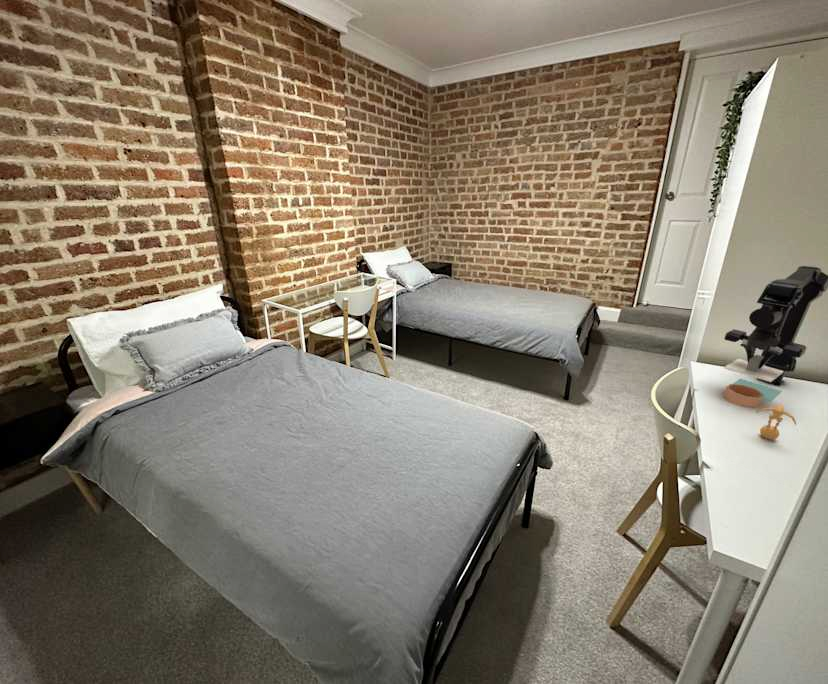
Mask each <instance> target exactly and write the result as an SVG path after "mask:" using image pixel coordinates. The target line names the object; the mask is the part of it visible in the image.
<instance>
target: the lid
mask: <svg viewBox="0 0 828 684" xmlns="http://www.w3.org/2000/svg"><path fill="white" fill-rule="evenodd" d="M763 358H764V356H761V355H759V354H754V356H753V357H752V358H750V360H749V362H748V360H745V359H741V358H736V359H734V360H733V361H732V362H729V363H728V364H727V365H725V366H724V367H723V368H724V369H726V370H729V371H731V372H735V373H739V374H742V375H746V376H749V377H752V378H755V379H757V378H758V379H762V380H765V381H768V382H772V381H773V380H774V379H775V378H777V377H778V376H779V375H781V374H782V373H783V371H781V370H778V369H774V368H771V367H767V366H765V365H764V366H763V367H762V368H759V366H760V363H761V361H762V360H763Z"/></svg>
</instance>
